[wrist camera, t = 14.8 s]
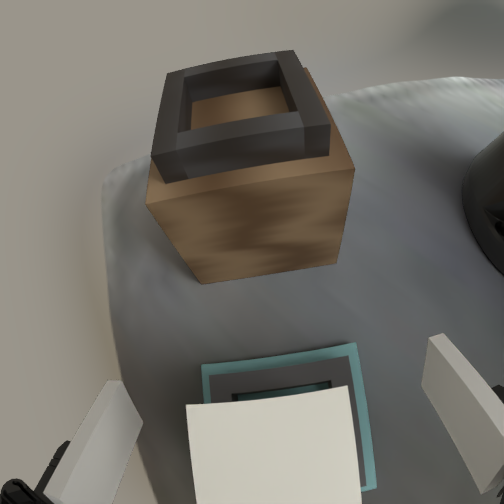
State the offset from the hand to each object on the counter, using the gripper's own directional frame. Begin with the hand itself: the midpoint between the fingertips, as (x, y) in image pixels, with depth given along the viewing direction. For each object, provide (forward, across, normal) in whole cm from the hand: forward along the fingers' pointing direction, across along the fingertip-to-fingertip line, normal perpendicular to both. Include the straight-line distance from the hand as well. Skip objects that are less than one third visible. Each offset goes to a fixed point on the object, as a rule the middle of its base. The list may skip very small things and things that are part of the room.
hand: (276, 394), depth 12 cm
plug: (+3, 0, -6) cm, 7 cm away
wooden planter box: (+15, 0, +4) cm, 16 cm away
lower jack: (+4, 0, -7) cm, 8 cm away
